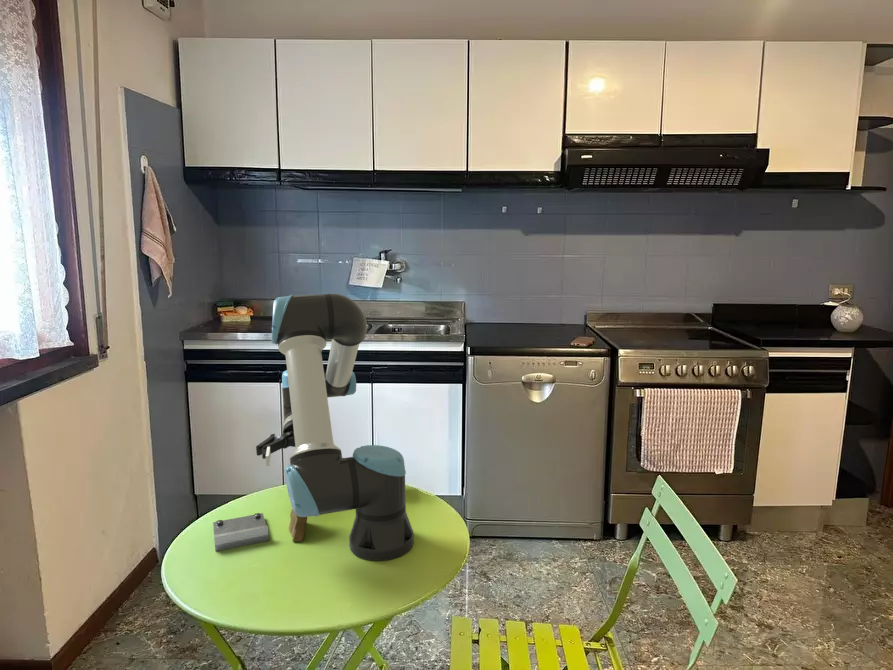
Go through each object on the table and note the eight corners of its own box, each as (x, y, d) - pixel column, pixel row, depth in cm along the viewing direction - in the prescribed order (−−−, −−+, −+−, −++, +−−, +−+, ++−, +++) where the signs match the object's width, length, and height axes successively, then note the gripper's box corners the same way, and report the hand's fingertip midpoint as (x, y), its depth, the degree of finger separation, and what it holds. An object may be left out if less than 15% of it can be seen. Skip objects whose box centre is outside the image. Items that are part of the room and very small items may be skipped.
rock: (310, 537, 141) (330, 512, 150) (287, 509, 141) (308, 486, 150) (281, 555, 146) (302, 530, 155) (259, 528, 145) (281, 504, 154)
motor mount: (268, 540, 144) (267, 526, 144) (215, 551, 140) (214, 537, 139) (263, 518, 155) (262, 505, 155) (213, 527, 151) (212, 514, 150)
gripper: (339, 438, 179) (344, 467, 159) (252, 446, 174) (245, 476, 154) (338, 414, 178) (342, 440, 157) (250, 421, 172) (243, 449, 152)
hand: (294, 458), depth 155 cm, fingers open, 13 cm apart
